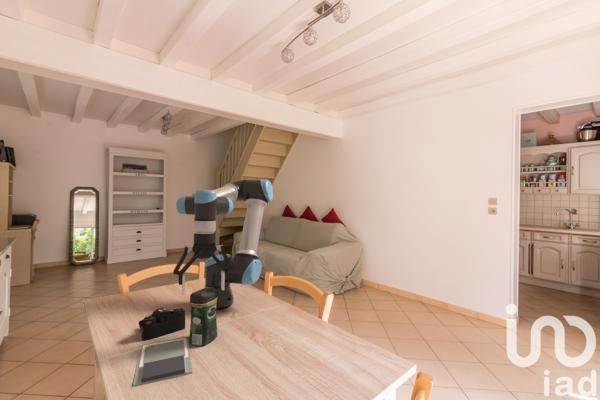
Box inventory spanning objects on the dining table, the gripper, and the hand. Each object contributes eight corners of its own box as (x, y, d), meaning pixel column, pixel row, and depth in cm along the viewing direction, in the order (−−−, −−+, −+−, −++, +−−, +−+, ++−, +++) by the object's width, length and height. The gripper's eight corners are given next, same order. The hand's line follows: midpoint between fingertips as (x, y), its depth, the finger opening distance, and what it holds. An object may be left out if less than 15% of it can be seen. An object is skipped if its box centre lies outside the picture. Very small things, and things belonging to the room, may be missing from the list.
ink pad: (185, 358, 88) (185, 354, 88) (186, 372, 80) (186, 368, 80) (142, 367, 83) (142, 363, 83) (139, 383, 75) (139, 379, 75)
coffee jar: (203, 332, 106) (204, 284, 107) (220, 336, 104) (221, 286, 104) (184, 344, 97) (185, 291, 97) (202, 349, 94) (203, 294, 95)
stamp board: (187, 339, 101) (187, 337, 101) (192, 373, 81) (192, 370, 81) (140, 348, 95) (140, 345, 95) (132, 387, 75) (132, 384, 75)
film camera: (169, 321, 116) (169, 297, 116) (190, 327, 111) (190, 302, 111) (126, 340, 100) (127, 312, 100) (148, 348, 95) (149, 319, 95)
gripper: (236, 230, 109) (235, 284, 109) (166, 232, 99) (165, 292, 98) (241, 232, 103) (240, 290, 102) (166, 234, 92) (165, 299, 92)
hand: (203, 291), depth 100 cm, fingers open, 13 cm apart
